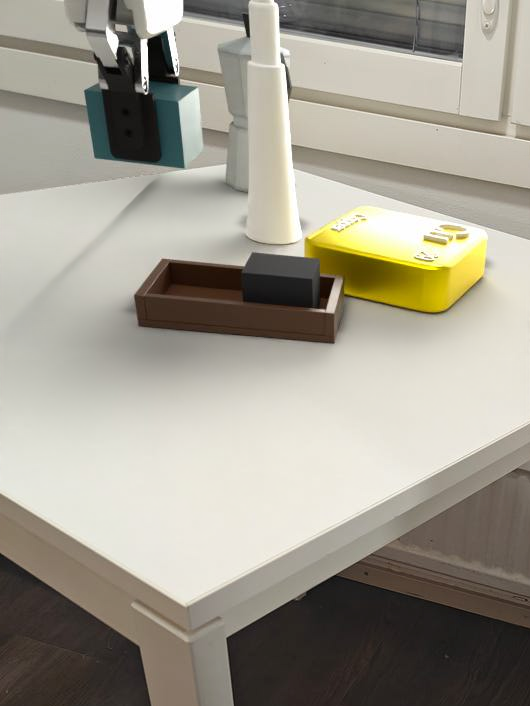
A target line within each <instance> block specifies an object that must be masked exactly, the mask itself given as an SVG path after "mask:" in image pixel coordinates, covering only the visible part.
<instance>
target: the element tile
mask: <svg viewBox="0 0 530 706" xmlns="http://www.w3.org/2000/svg"><path fill="white" fill-rule="evenodd" d="M487 246H488V235H487V233H486V232H485V230H484V229H481V228H476V227H472V226H467V225H464V224H460V223H459V224H458V223H453V222H448V221H444V220H443V221H442V220H437V219H432V218H427V217H423V216H418V215H413V214H408V213H403V212H398V211H393V210H388V209H384V208H379V207H373V206H366V205H365V206H360V207H357V208H355V209H353V210H351V211H348V212H346V213H345V214H343V215H342V216H340V217H338V218H335V219H334V220H332V221H330V222H328V223H327V224H325V225H324V226H321V227H320V228H318V229H316V230H315V231H312V232H311V233H309V234H307V235H306V236H305V237H304V241H303V249H304V250H303V251H304V252H303V253H304V257H307V258H318V259H320V274H330V275H341V276H344V296H349V297H354V298H357V299H358V298H359V299H363V300H367V301H371V302H377V303H381V304H386V305H389V306H395V307H399V308H403V309H408V310H412V311H417V312H421V313H431V314H435V313H441V312H444V311H446V310H449V309H450V308H451V306H453V305H454V304H455V303H456V302H457V301H458V300H459V299H460V298H461V297H462V296H463V295H464V294H466V292H467V291H468V290H470V289H471V288H472V287H473V286H474V285H475V284H476V283H477V282H478V281H479V280H480V279H481V278H482V277H483V276H484V274H485V265H486V256H487Z"/></svg>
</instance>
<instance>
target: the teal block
mask: <svg viewBox="0 0 530 706" xmlns="http://www.w3.org/2000/svg"><path fill="white" fill-rule="evenodd" d="M199 90H200V89H199V86H193V85H186V84H180V85H178V84H170V83H161V82H153V81H148V93H155V102H156V111H157V120H158V128H159V137H160V146H161V155H162V156H161V159H160V160H159V161H158V162H157V163H151V162H142V161H133V160H125V159H117V158H115V157H113V156H112V154H111V152H110V145H109V139H108V132H107V125H106V118H105V111H104V104H103V97H102V91H101V88H100V85H99V82H97V83H95V84H94V85H93V84H92V85H91V86H90V87H87V88H86V89H84V90H83V93H84V100H85V106H86V112H87V118H88V125H89V132H90V137H91V145H92V151H93V157H94V159H96V160H105V161H115V162H122V163H130V164H139V165H149V166H157V167H165V168H173V169H181V170H182V169H183V170H185V169H186V168H187V167H188V166H189V165H190V164H191V163H192V162H193V161H194V160H195V159H196V158H198V157H199V156H200V154H202V153H203V152H204V139H203V126H202V125H203V124H202V113H201V103H200V91H199Z"/></svg>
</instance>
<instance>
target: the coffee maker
mask: <svg viewBox="0 0 530 706" xmlns="http://www.w3.org/2000/svg"><path fill="white" fill-rule="evenodd" d="M241 14H242V20H243V26H244V31H245V35H246V36H243V37H239V38H235V39H232V40H231V39H230V40H228V41H224V42H221V43H217V47H216V48H217V49H216V50H217V54H218V59H219V60H218V61H219V65H220V71H221V76H222V81H223V88H224V93H225V99H226V104H227V110H228V113H229V114H230V115H231V116H232V119H233V120H232V121H231V122H230V123H229V127H228V137H227V138H228V140H227V153H226V164H225V165H226V167H225V181H224V183H225V184H226V185H227V186H229V187H230V188H232V189H233V190H235V191H239V192H245V193H248V192H249V143H248V92H247V63H248V61H251V42H250V24H249V11H241ZM280 63H282V64H283V65H284V66H285V75H286V86H287V98H288V104H289V103H290V99H291V94H292V89H293V86H292V80H291V75H290V67H291V54H290V50H289V49H287V48H284V47H282V46H280ZM292 166H293V164H292ZM293 167H294V166H293ZM294 171H295V170H293V177H294V187H295V186H296V187H297V183H296V182H297V181H296V178H295V177H296V176H295V172H294ZM296 187H295V188H296Z"/></svg>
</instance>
